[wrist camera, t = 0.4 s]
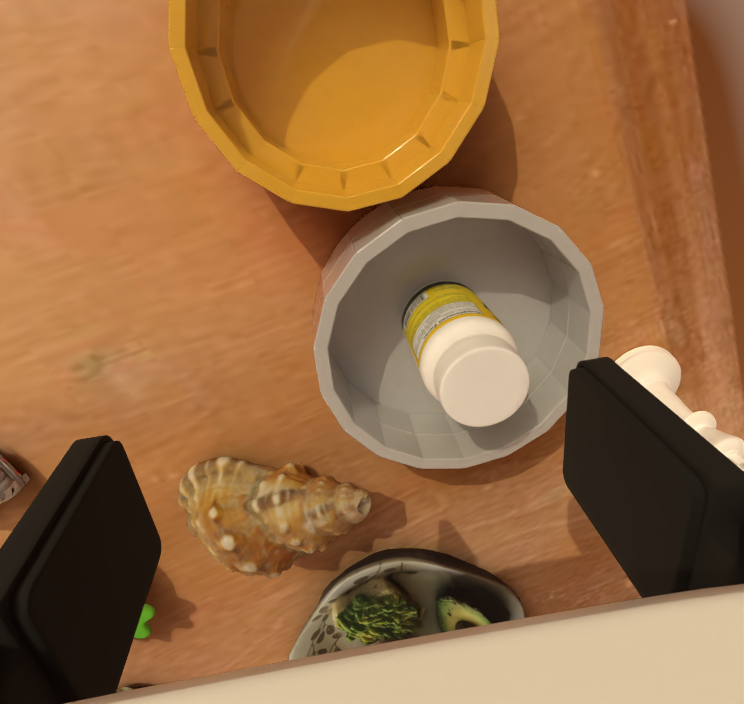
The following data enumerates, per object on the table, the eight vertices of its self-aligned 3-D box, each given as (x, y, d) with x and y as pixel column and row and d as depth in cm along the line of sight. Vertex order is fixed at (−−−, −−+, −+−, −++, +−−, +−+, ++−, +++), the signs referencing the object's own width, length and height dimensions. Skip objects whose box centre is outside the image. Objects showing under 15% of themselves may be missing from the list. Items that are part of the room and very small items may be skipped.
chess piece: (597, 360, 33) (706, 458, 24) (673, 334, 32) (811, 423, 24) (606, 421, 35) (709, 532, 26) (677, 397, 35) (806, 500, 26)
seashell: (252, 389, 34) (328, 449, 27) (319, 456, 39) (400, 524, 31) (144, 497, 32) (192, 598, 24) (228, 555, 37) (292, 656, 29)
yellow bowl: (134, 14, 22) (91, -7, 18) (362, -197, 20) (377, -281, 16) (311, 238, 27) (312, 265, 23) (508, 88, 25) (551, 85, 21)
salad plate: (428, 726, 48) (439, 785, 44) (248, 685, 43) (242, 747, 39) (556, 590, 42) (584, 643, 38) (365, 521, 36) (373, 575, 32)
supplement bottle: (485, 344, 31) (542, 422, 23) (408, 362, 31) (440, 447, 23) (475, 268, 29) (535, 327, 21) (392, 288, 29) (422, 354, 21)
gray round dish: (259, 295, 28) (250, 331, 24) (484, 124, 26) (521, 129, 21) (404, 458, 34) (419, 511, 30) (599, 332, 32) (647, 370, 27)
